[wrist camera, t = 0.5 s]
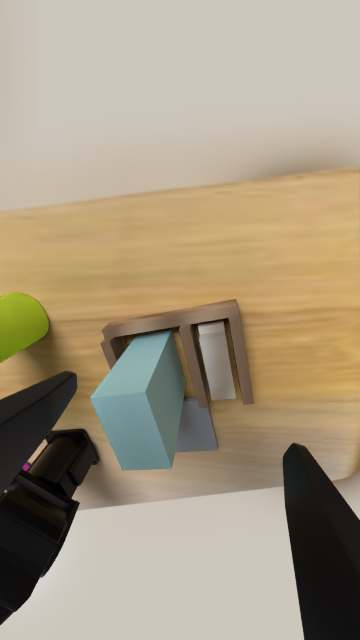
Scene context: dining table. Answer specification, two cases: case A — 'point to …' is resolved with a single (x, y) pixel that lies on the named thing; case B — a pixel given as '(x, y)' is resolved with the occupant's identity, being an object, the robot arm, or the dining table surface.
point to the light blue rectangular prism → (143, 402)
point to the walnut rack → (186, 341)
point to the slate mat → (195, 428)
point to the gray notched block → (216, 360)
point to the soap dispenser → (20, 323)
